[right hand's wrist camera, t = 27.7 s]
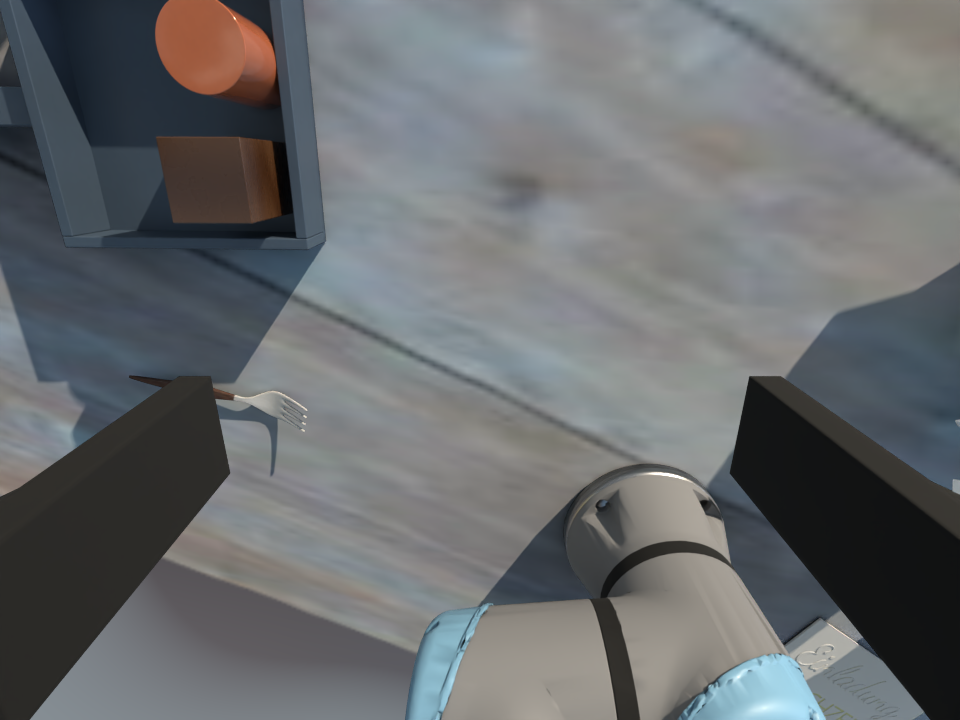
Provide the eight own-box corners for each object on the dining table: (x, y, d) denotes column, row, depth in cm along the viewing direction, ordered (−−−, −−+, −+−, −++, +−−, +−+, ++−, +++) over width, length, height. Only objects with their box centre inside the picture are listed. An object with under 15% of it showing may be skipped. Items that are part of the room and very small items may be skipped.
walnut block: (297, 212, 40) (252, 223, 32) (233, 212, 40) (172, 223, 32) (289, 142, 38) (239, 136, 30) (222, 142, 38) (154, 136, 30)
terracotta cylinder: (299, 111, 37) (251, 96, 29) (231, 109, 37) (164, 93, 29) (292, 31, 36) (238, -8, 28) (220, 29, 36) (146, -10, 28)
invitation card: (719, 697, 59) (821, 619, 55) (718, 695, 60) (819, 617, 55) (839, 768, 64) (941, 701, 60) (837, 766, 64) (939, 699, 60)
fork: (132, 360, 45) (117, 369, 43) (314, 398, 46) (307, 408, 44) (133, 387, 46) (118, 396, 44) (311, 423, 47) (304, 434, 45)
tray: (326, 241, 41) (281, 263, 32) (-75, 237, 41) (-238, 258, 32) (299, -37, 35) (233, -113, 25) (-178, -43, 35) (-422, -121, 25)
